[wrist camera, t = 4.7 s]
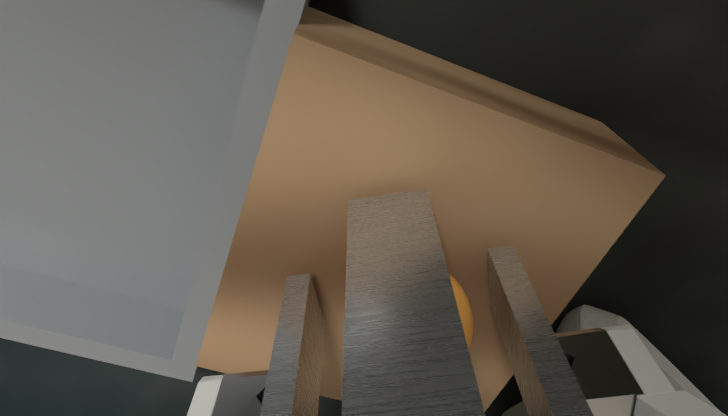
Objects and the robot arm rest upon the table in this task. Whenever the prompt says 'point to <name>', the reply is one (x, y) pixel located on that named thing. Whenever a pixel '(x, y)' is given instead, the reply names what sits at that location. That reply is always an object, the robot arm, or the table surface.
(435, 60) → the stand
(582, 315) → the digital clock
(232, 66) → the tray
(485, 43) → the table surface
